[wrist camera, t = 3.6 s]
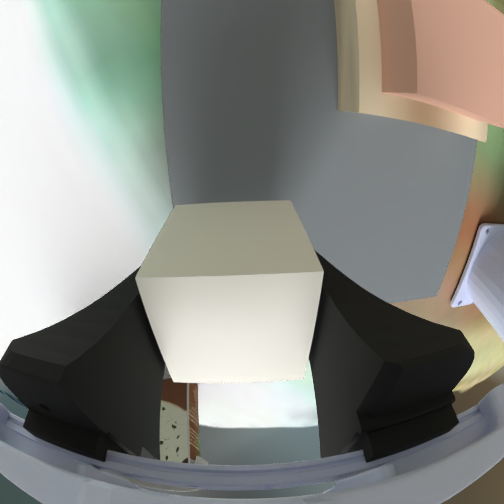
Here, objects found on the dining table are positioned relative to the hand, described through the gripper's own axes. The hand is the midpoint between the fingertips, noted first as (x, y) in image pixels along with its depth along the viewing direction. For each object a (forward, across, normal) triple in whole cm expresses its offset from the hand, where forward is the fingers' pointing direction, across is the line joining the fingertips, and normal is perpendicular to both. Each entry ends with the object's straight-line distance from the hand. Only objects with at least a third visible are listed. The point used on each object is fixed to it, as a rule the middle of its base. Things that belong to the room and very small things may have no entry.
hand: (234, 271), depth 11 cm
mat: (+5, -6, -6) cm, 10 cm away
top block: (+2, 0, 0) cm, 2 cm away
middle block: (+1, -9, -10) cm, 13 cm away
